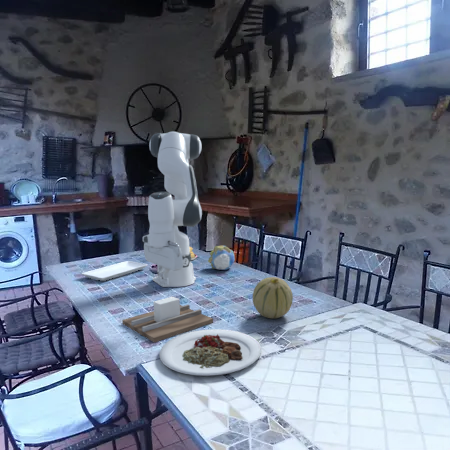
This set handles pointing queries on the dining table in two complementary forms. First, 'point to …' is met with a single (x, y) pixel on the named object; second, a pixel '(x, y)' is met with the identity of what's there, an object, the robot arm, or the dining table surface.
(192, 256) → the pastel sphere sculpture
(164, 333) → the rail panel
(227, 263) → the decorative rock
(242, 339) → the plated food
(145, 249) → the robot arm
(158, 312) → the rail module
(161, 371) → the dining table surface
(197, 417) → the dining table surface
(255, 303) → the cantaloupe
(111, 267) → the tray
